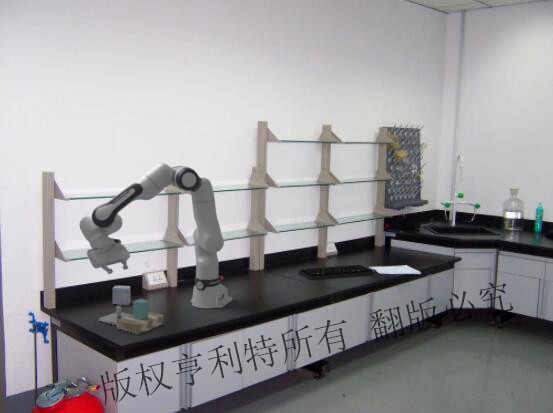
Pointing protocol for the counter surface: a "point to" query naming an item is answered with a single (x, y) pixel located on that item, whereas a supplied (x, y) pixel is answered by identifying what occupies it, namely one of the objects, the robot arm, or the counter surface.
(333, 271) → the computer keyboard
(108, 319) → the post stand
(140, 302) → the teal square-faced block
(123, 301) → the medicine box
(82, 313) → the counter surface
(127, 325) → the riser block
